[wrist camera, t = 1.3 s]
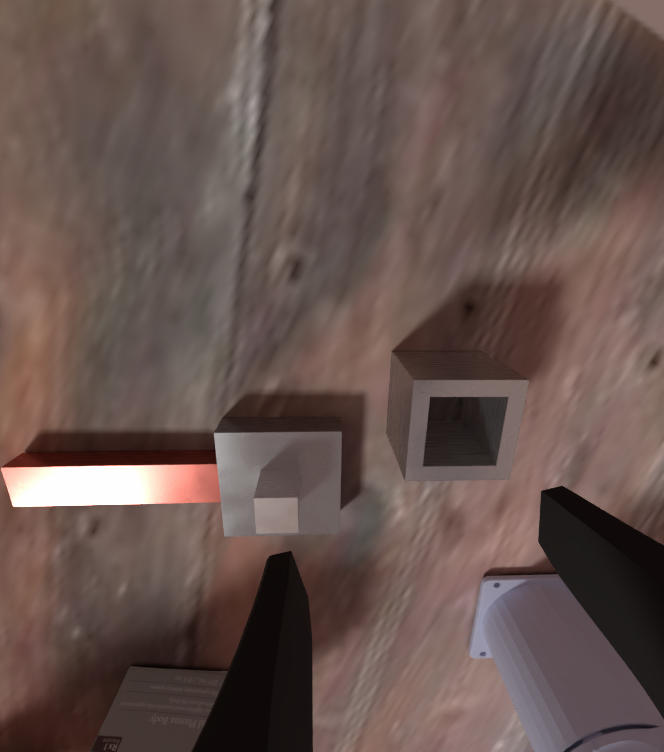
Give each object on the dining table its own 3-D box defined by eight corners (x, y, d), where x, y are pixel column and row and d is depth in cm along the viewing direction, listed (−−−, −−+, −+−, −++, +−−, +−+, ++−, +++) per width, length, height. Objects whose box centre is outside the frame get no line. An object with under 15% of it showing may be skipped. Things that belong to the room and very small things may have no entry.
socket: (481, 351, 21) (529, 380, 16) (469, 432, 23) (509, 479, 18) (391, 351, 21) (413, 380, 16) (386, 433, 22) (405, 481, 18)
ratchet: (339, 416, 22) (345, 455, 18) (337, 511, 24) (342, 567, 20) (12, 419, 21) (-64, 461, 17) (42, 518, 23) (-19, 578, 19)
